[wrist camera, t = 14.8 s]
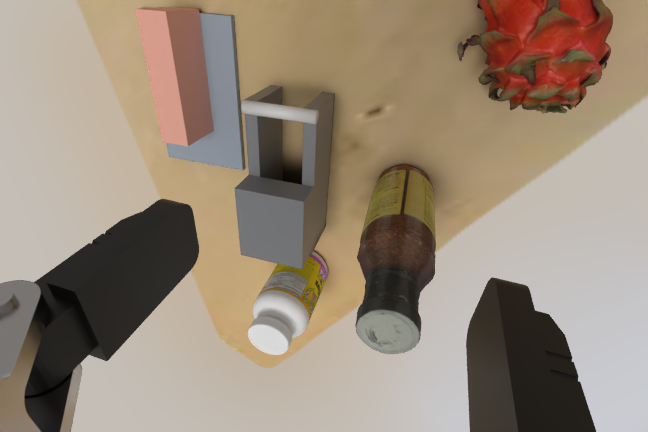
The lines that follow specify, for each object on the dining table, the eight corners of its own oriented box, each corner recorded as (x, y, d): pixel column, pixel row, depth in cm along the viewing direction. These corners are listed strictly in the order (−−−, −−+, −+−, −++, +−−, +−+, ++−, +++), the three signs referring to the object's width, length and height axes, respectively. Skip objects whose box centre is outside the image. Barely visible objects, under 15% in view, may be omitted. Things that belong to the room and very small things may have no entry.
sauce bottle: (371, 207, 41) (324, 349, 24) (380, 156, 37) (332, 284, 21) (429, 219, 39) (420, 378, 23) (444, 168, 36) (445, 312, 20)
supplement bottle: (320, 290, 50) (288, 370, 39) (278, 271, 50) (234, 345, 40) (335, 257, 46) (304, 336, 36) (289, 237, 46) (244, 308, 36)
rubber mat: (143, 7, 36) (139, 7, 35) (233, 15, 34) (230, 16, 33) (172, 154, 45) (169, 156, 44) (245, 168, 43) (242, 170, 42)
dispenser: (270, 85, 36) (227, 109, 29) (334, 93, 35) (305, 120, 28) (274, 215, 45) (241, 259, 38) (325, 226, 44) (301, 273, 37)
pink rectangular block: (171, 6, 34) (135, 8, 30) (198, 9, 34) (165, 11, 30) (190, 127, 41) (162, 142, 37) (213, 130, 40) (188, 146, 36)
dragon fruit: (551, 103, 32) (477, -13, 30) (671, 50, 24) (579, -110, 23) (500, 154, 29) (416, 27, 27) (618, 111, 21) (509, -69, 19)
